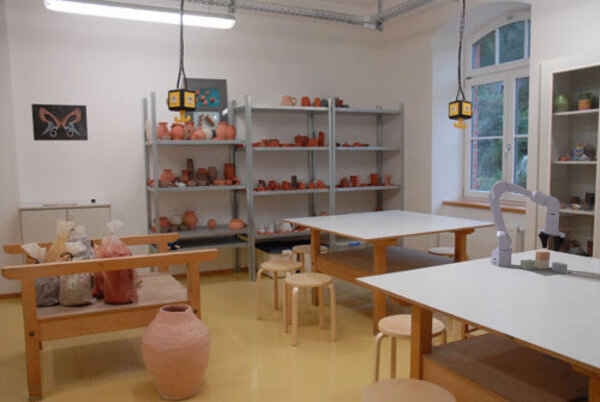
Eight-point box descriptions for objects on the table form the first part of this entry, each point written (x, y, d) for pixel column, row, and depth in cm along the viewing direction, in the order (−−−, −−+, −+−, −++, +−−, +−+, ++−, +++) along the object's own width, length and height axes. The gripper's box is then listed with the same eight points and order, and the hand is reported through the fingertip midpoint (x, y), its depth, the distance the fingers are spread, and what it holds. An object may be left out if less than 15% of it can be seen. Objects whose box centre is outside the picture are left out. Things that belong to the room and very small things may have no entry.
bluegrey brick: (566, 272, 238) (567, 264, 238) (562, 273, 237) (562, 264, 237) (556, 269, 244) (557, 261, 243) (552, 270, 243) (552, 262, 242)
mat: (545, 277, 232) (545, 275, 232) (518, 268, 248) (518, 267, 248) (570, 274, 236) (570, 273, 236) (542, 266, 252) (542, 265, 252)
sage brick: (524, 269, 244) (525, 261, 244) (520, 268, 247) (520, 260, 247) (534, 268, 246) (534, 260, 246) (530, 267, 249) (530, 259, 249)
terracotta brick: (540, 260, 246) (540, 252, 245) (535, 259, 248) (535, 251, 248) (549, 259, 248) (549, 252, 247) (544, 258, 250) (545, 250, 250)
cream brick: (539, 268, 246) (539, 260, 246) (534, 267, 249) (535, 259, 248) (548, 267, 248) (549, 259, 247) (544, 266, 251) (544, 258, 250)
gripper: (570, 223, 237) (569, 251, 238) (547, 219, 251) (545, 246, 252) (559, 224, 235) (557, 252, 236) (535, 220, 248) (534, 247, 250)
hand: (550, 249), depth 244 cm, fingers open, 7 cm apart
